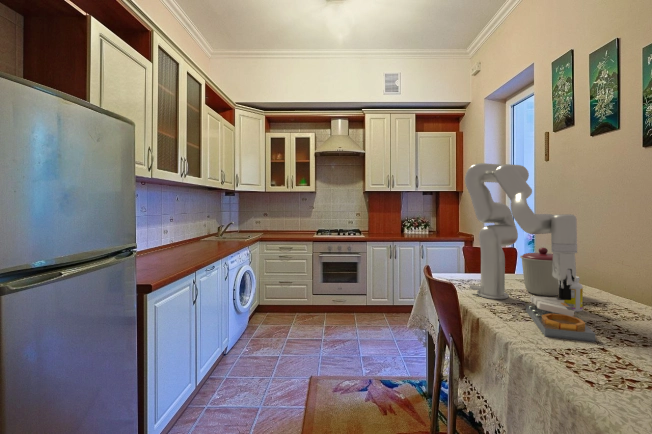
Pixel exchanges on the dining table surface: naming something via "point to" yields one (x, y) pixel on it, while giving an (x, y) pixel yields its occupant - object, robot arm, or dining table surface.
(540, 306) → the bar
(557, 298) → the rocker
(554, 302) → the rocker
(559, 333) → the panel
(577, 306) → the supplement bottle
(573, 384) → the dining table surface
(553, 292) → the canister
